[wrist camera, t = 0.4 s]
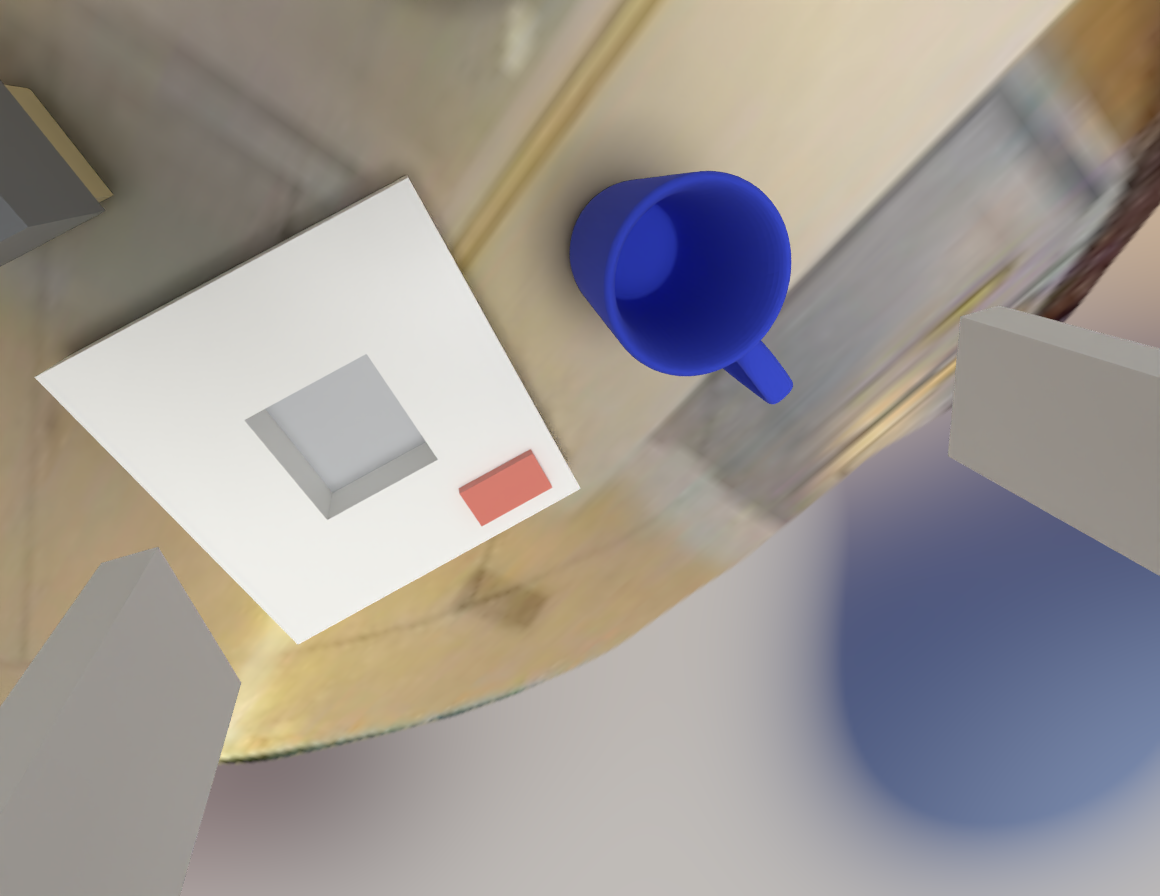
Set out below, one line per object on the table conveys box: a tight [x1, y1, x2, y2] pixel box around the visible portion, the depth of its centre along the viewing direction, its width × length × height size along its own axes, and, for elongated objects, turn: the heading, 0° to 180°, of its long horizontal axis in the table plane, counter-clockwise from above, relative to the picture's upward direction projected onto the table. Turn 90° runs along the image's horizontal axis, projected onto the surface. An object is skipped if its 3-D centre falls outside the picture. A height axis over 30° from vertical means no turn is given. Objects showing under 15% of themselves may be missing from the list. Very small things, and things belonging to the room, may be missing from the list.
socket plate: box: [35, 175, 580, 644], centre depth 33 cm, size 18×18×4 cm
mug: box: [570, 171, 793, 404], centre depth 32 cm, size 8×12×10 cm
